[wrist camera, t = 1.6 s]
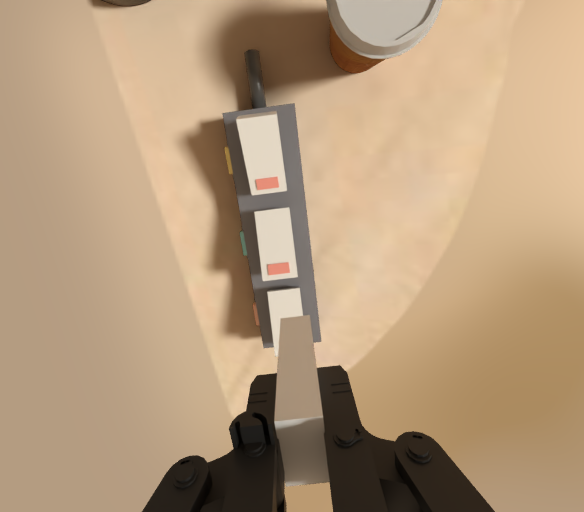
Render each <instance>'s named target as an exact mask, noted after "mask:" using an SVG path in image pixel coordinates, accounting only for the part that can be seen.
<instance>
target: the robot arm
mask: <svg viewBox="0 0 584 512" xmlns="http://www.w3.org/2000/svg"><path fill="white" fill-rule="evenodd" d="M102 1H105V2H108V3H111V4H116V5H124V6H129V5H138V4H142V3H145V2H148V1H150V0H102ZM229 431H230V435H231V439H232V443H233V447H234V449H233V450H232V451H231V452H229V453H228V454H227V455H224V456H223V457H221V458H218V459H216V460H213V461H211V462H208V463H207V462H206V460H205V459H204V458H202V457H200V456H188V457H185V458H183V459H181V460H179V461H178V462H177V463H175V464H174V465H173V466H172V467H171V468H170V469H169V470H168V472H167V473H166V474H165V476H164V478H163V479H162V481H161V482H160V484H159V486H158V487H157V489H156V490H155V492H154V494H153V495H152V497H151V498H150V500H149V502H148V503H147V505H146V506H145V508H144V509H143V511H142V512H286V500H285V495H284V481H285V484H286V486H296V485H306V484H316V483H326V482H330V489H331V497H332V505H333V512H495V511H494V510H493V509H492V508H491V506H490V505H489V504H488V503H487V502H486V500H485V499H484V498H483V497H482V496H481V494H480V493H479V492H478V491H477V490H476V488H475V487H474V486H473V485H472V484H471V483H470V481H469V480H468V479H467V478H466V476H465V475H464V474H463V473H462V472H461V470H460V469H459V468H458V467H457V466H456V464H455V463H454V462H453V461H452V460H451V458H450V457H449V456H448V455H447V454H446V452H445V451H444V450H443V449H442V448H441V446H440V445H439V444H438V443H437V442H436V441H435V440H434V439H432V438H431V437H429V436H427V435H425V434H423V433H419V432H414V431H413V432H405V433H403V434H402V435H400V436H399V437H398V438H397V440H396V441H395V442H394V441H390V440H385V439H380V438H377V437H375V436H373V435H371V434H370V433H369V432H368V431H366V430H365V428H364V427H363V426H362V424H361V421H360V418H359V415H358V411H357V407H356V404H355V400H354V396H353V393H352V389H351V386H350V382H349V378H348V374H347V372H346V371H345V370H344V369H343V368H342V367H341V366H340V365H339V366H330V367H321V368H317V367H316V359H315V352H314V344H313V336H312V329H311V321H310V315H305V316H297V317H288V318H280V335H279V351H278V368H277V373H275V374H266V375H257V376H256V378H255V379H254V381H253V382H252V384H251V386H250V392H249V398H248V404H247V409H246V411H245V412H243V413H242V414H240V415H238V416H237V417H236V418H235V419H234V420H233V421H232V423H231V425H230V427H229Z"/></svg>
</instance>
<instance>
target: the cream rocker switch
mask: <svg viewBox="0 0 584 512" xmlns="http://www.w3.org/2000/svg"><path fill="white" fill-rule="evenodd" d="M267 293H268V302H269V310H270V318H271V327H272V335H273V343H274V352H275V357H277V356H278V351H279V335H280V318H288V317H297V316H303V311H302V303H301V294H300V287H295V288H286V289H278V290H270V291H268V292H267Z"/></svg>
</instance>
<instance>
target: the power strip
mask: <svg viewBox="0 0 584 512" xmlns="http://www.w3.org/2000/svg"><path fill="white" fill-rule="evenodd" d="M244 54H245V61H246V67H247V74H248V81H249V88H250V94H251V101H252V108H253V109H250V110H242V111H235V112H228V113H222V114H223V119H224V125H225V131H226V136H227V145H228V147H224V149H225V154H226V160H227V165H228V171H229V174H233V179H234V182H235V188H236V193H237V199H238V205H239V210H240V216H241V222H242V230H243V231H240V238H241V243H242V249H243V255H244V256H245V255H247V258H248V261H249V267H250V273H251V279H252V284H253V290H254V298H255V303H253V310H254V316H255V321H256V326H258V325H259V326H260V330H261V335H262V341H263V347H264V348H270V347H274V343H273V335H272V327H271V318H270V310H269V302H268V293H267V292H268V291H270V290H278V289H286V288H295V287H300V294H301V303H302V311H303V316H305V315H310V321H311V329H312V336H313V343H314V342H321V335H320V326H319V317H318V308H317V299H316V290H315V281H314V272H313V264H312V255H311V246H310V237H309V228H308V219H307V210H306V201H305V193H304V184H303V175H302V166H301V157H300V148H299V139H298V130H297V122H296V113H295V104H294V103H293V104H286V105H279V106H271V107H266V101H265V93H264V86H263V79H262V71H261V64H260V57H259V51H258V50H248V51H245V53H244ZM272 111H277V118H278V126H279V133H280V140H281V148H282V155H283V163H284V170H285V178H286V185H287V191H283V192H275V193H268V194H260V195H252V194H251V190H250V185H249V180H248V175H247V170H246V166H245V161H244V156H243V151H242V146H241V141H240V137H239V132H238V127H237V122H236V119H237V117H238V116H242V115H250V114H257V113H264V112H272ZM287 207H289V209H290V217H291V225H292V233H293V241H294V249H295V257H296V265H297V274H298V277H295V278H286V279H278V280H270V281H263V280H262V271H261V263H260V255H259V246H258V238H257V230H256V221H255V213H254V212H256V211H264V210H272V209H280V208H287Z"/></svg>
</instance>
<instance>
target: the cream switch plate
mask: <svg viewBox="0 0 584 512" xmlns="http://www.w3.org/2000/svg"><path fill="white" fill-rule="evenodd" d="M254 213H255V221H256V230H257V238H258V246H259V255H260V263H261V271H262V280H263V281H270V280H278V279H286V278H295V277H298V274H297V265H296V257H295V249H294V241H293V233H292V225H291V217H290V209H289V207H287V208H280V209H272V210H264V211H256V212H254Z"/></svg>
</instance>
